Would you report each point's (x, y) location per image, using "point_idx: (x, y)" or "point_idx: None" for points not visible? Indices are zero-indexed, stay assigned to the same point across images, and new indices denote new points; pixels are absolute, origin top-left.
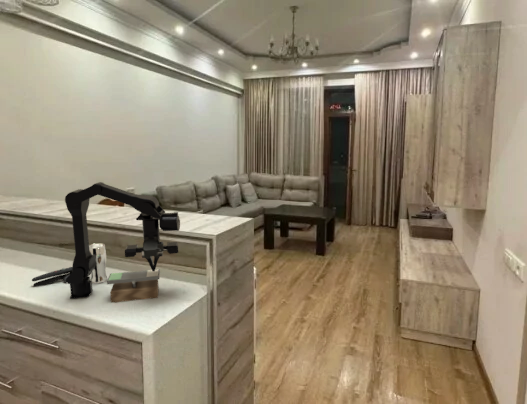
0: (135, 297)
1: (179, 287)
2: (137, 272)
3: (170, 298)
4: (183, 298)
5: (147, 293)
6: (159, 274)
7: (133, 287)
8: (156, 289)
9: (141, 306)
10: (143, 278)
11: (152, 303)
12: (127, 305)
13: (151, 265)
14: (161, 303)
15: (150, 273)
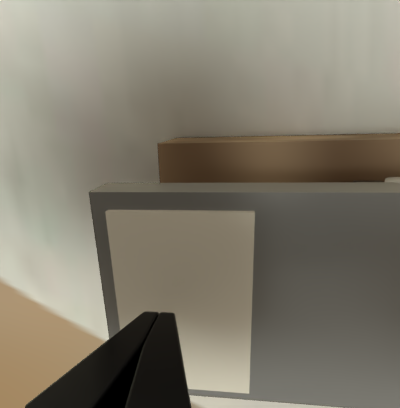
0: (334, 135)
1: (56, 252)
2: (371, 375)
3: (88, 104)
4: (3, 85)
5: (243, 139)
6: (105, 268)
7: (378, 181)
8: (165, 141)
9: (282, 10)
10: (293, 191)
11: (203, 47)
12: (389, 52)
13: (155, 383)
14: (139, 33)
15: (207, 294)
